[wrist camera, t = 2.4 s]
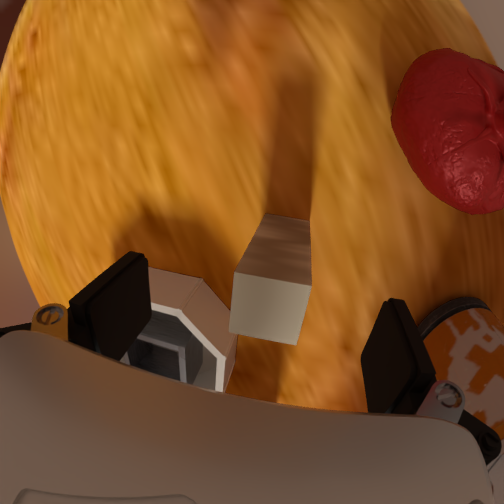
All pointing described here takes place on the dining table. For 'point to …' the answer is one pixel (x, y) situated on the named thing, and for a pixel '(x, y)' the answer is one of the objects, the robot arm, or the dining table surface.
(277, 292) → the grey rectangular block
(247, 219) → the dining table surface
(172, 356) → the hollow square tube
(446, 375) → the canister
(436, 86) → the pomegranate
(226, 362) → the white octagonal tray
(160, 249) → the dining table surface
